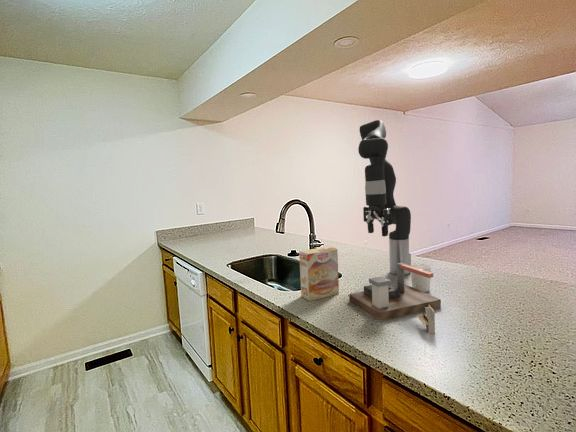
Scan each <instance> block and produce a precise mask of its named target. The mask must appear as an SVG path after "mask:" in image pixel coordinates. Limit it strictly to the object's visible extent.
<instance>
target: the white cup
mask: <svg viewBox="0 0 576 432" xmlns="http://www.w3.org/2000/svg"><path fill="white" fill-rule="evenodd" d="M411 266H412V267H415V268H418V269H422V270H425V271H428V272H431V271H432V266H431V265H429V264H425V263H424V264H422V263H414V264H413V263H412V264H411ZM431 273H432V272H431ZM410 278H411V285H412V286H411V287H412V288H415V289H417V290H420V291H422V292H424V293H427V292H429V291H430V290H431V289H430V288H431V278H427V277H424V276H421V275H418V274H415V273H413V272H410Z"/></svg>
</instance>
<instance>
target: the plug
mask: <svg viewBox="0 0 576 432" xmlns="http://www.w3.org/2000/svg"><path fill="white" fill-rule="evenodd" d="M368 283H369V284H370V285H372V305H374V306H376V307H377V308H384V307H389V293H388V285H391V286H392V280H391V279H389V278H386V277H385V276H375V277H370V278H368Z"/></svg>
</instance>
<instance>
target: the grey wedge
mask: <svg viewBox="0 0 576 432" xmlns="http://www.w3.org/2000/svg"><path fill="white" fill-rule="evenodd" d="M425 310H426V311H423V312H422V314H418V313H416V316H417V318H418V319H419V321H420V322H421V324H422V325H425V328H426V332H428V335H435V334H436V317H435V315H436V312H435V311H434V310H435V309H432V308H431V307H430V305H428V307H425ZM425 313H426V314H425Z"/></svg>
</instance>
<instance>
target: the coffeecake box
mask: <svg viewBox="0 0 576 432" xmlns="http://www.w3.org/2000/svg"><path fill="white" fill-rule="evenodd" d="M338 253H339V252H338V248H336V247H333V246H332V247H331V246H329V245H328V246H324V247H316V248H312V249H305V250H299V252H298V254H299V255H298V257H299V273H300V275H299V276H300V293H301V294H300V295H301V298H303V299H306V300H307V301H308V302H312V301H315V300H318V299H319V300H320V299H324V298H327V297H331V296H335V295H339V293H340V289H339V288H340V285H339V282H340V281H339V262H338V261H339V258H338V256H339V255H338Z"/></svg>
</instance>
